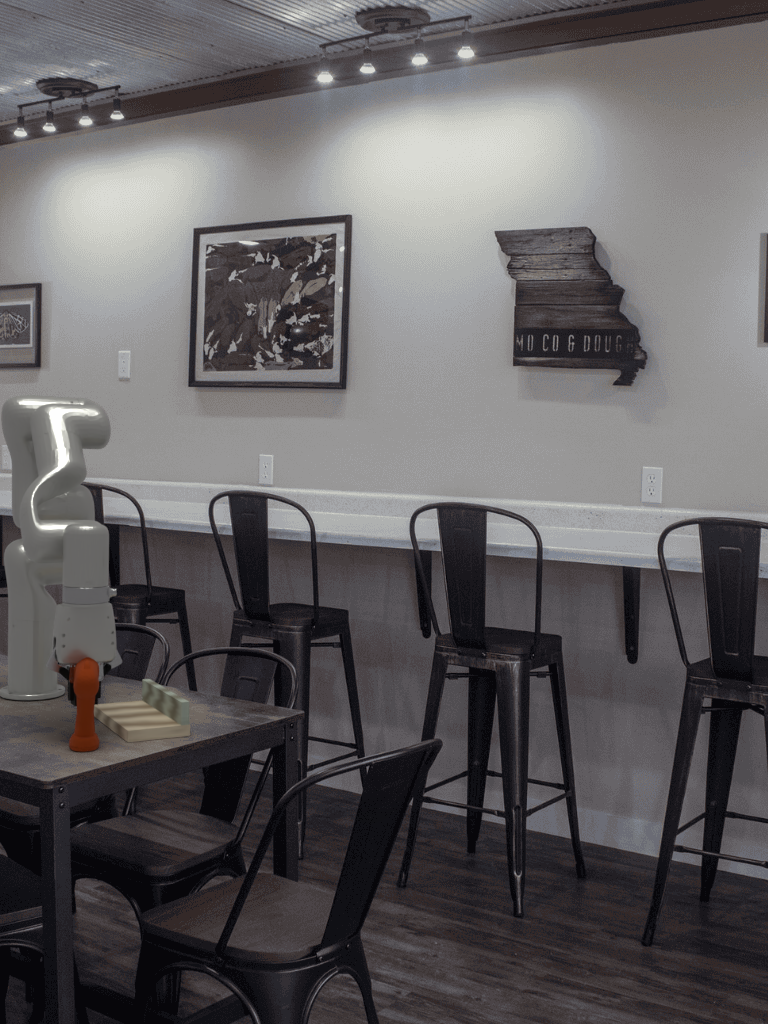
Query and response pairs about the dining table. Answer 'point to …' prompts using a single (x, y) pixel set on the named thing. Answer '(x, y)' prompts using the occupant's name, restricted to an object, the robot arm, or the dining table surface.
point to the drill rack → (147, 715)
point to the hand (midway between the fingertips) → (84, 702)
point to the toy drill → (85, 705)
